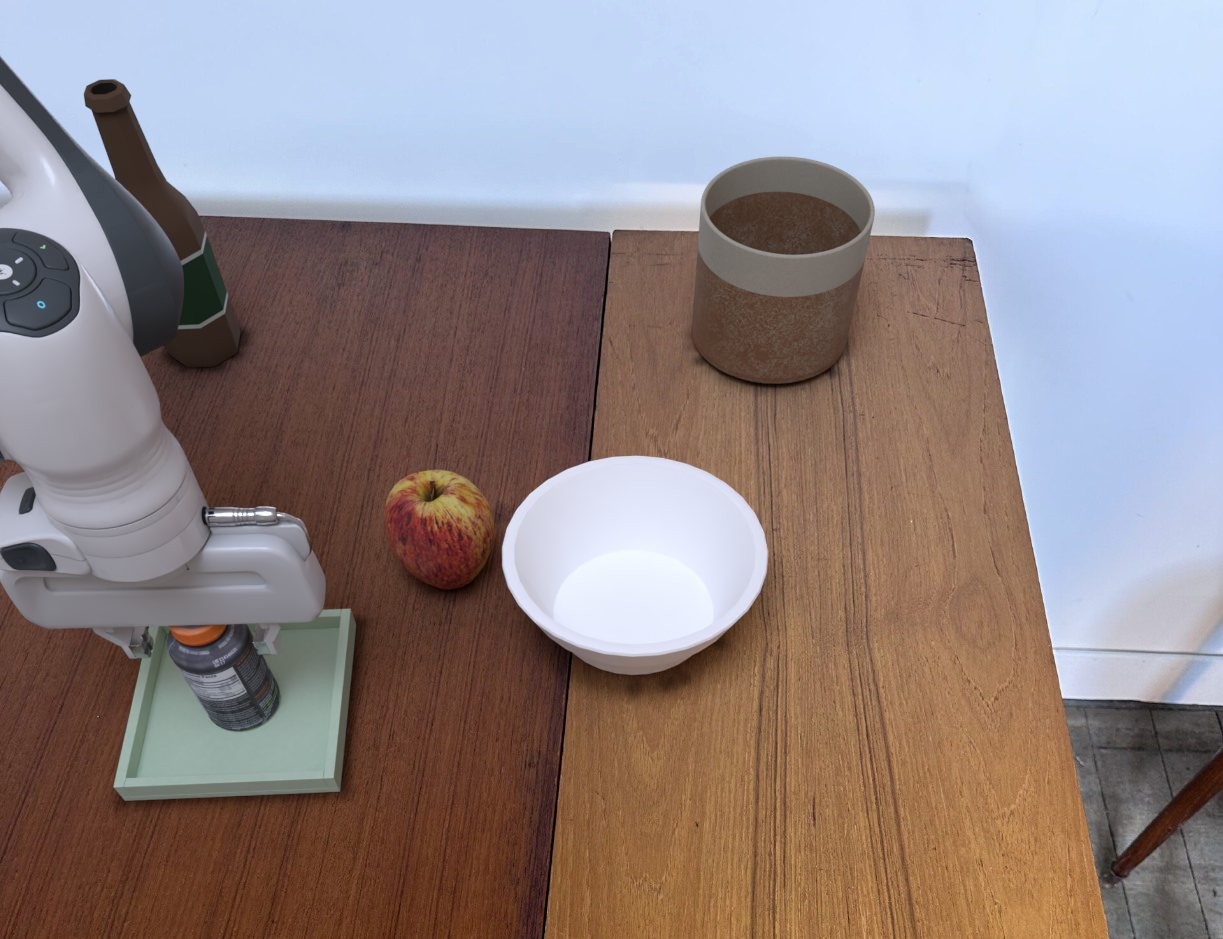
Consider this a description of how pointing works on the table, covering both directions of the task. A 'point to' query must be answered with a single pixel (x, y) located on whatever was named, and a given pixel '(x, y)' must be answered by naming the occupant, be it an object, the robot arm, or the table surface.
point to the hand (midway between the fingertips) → (206, 649)
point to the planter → (779, 267)
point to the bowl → (634, 561)
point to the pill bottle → (225, 673)
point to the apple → (439, 527)
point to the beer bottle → (169, 230)
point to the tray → (252, 759)
